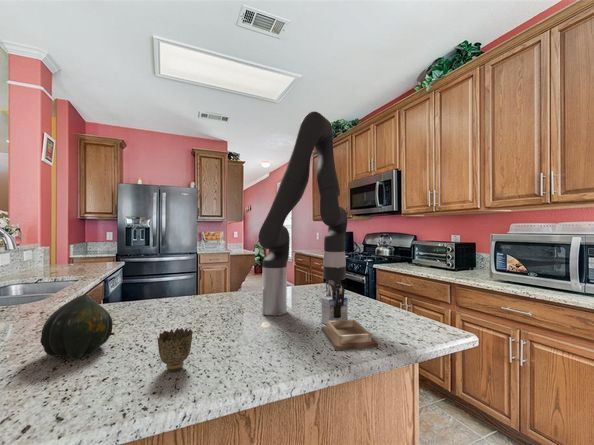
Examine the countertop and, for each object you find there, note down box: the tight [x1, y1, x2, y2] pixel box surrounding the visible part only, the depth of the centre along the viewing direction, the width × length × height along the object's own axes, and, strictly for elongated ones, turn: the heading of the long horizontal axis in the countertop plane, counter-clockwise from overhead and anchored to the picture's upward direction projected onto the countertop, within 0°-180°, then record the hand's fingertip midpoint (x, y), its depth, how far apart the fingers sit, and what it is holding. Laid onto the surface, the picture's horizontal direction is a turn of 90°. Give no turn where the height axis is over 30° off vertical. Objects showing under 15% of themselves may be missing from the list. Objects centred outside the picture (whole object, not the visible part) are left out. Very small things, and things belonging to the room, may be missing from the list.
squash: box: [40, 294, 114, 360], centre depth 73 cm, size 14×15×15 cm
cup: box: [156, 327, 194, 372], centre depth 65 cm, size 8×7×8 cm
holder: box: [320, 319, 379, 351], centre depth 83 cm, size 12×15×3 cm
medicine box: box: [321, 295, 349, 326], centre depth 96 cm, size 8×4×9 cm, turn 117°
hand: (334, 314), depth 96 cm, fingers closed on medicine box, 5 cm apart
